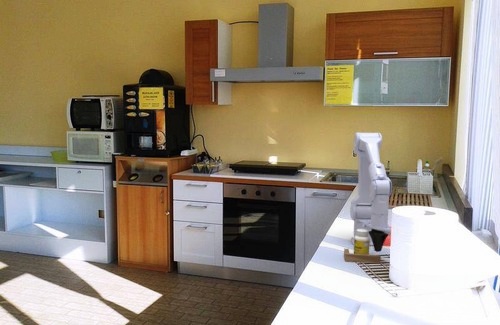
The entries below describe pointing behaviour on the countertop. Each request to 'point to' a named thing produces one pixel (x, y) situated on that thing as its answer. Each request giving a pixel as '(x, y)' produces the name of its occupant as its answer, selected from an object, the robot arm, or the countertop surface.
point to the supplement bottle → (361, 242)
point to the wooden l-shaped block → (361, 257)
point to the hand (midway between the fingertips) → (377, 251)
